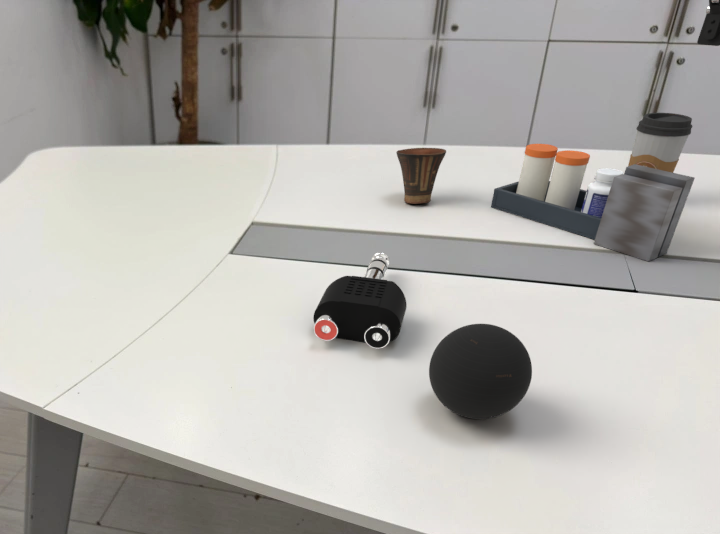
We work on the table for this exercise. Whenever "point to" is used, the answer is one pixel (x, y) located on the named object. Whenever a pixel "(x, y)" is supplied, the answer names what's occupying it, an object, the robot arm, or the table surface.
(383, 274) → the audio adapter
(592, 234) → the tray
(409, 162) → the cup
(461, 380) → the speaker
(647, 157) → the coffee cup
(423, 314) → the table surface
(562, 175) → the white bottles
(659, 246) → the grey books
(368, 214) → the table surface
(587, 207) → the pill bottle
